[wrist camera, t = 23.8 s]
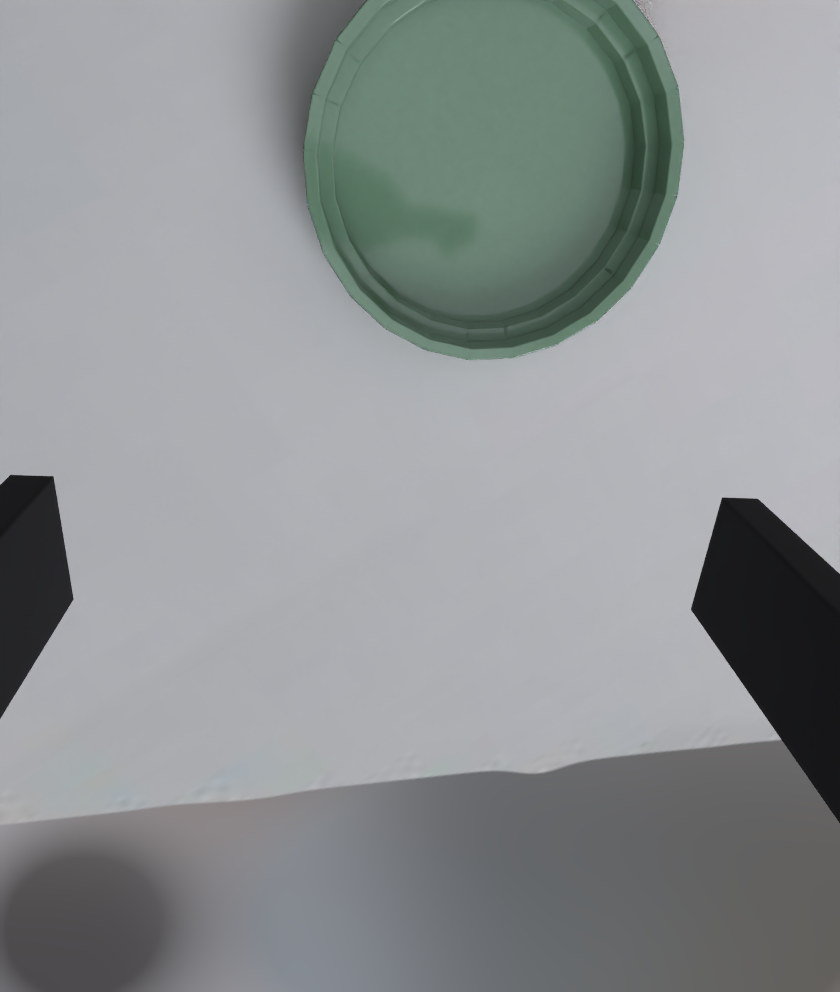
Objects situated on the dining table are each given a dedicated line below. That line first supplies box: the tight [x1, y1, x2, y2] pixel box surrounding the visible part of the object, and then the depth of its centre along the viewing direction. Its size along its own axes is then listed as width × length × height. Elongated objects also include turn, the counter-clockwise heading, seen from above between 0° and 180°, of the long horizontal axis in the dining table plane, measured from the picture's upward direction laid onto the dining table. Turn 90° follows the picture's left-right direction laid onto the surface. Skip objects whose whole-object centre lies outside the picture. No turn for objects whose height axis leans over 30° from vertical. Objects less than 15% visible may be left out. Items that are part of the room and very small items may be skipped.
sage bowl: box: [303, 0, 684, 360], centre depth 35 cm, size 17×17×3 cm
